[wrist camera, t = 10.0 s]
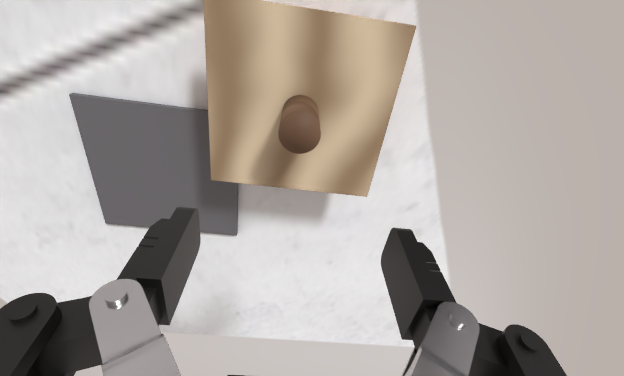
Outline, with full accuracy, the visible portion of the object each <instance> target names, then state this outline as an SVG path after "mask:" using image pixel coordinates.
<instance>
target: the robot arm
mask: <svg viewBox="0 0 624 376" xmlns="http://www.w3.org/2000/svg"><path fill="white" fill-rule="evenodd" d="M199 247H200V225H199V212H198V209H197V208H186V207H177V208H176V209H175V211H174V213H173V214H172V216H171V218H170V219H164V218H161V219H160V220H159V221H157V222H156V223H154V224H153V225H152V226H150V228H149V230H148V231H147V233H146V234H145V236H144V239H142V241H141V242H140V244H139V247H137V248H136V250H135V252H134V253H133V255H132V256H131V258H130V259H129V261H128V263H127V264H126V266H125V267H124V269H123V270H122V272H121V274H120V275H119V277H118V278H117V280H115V281H112V282H109V283H107V284H105V285H103V286H102V287H100V288H99V289H98V290H97V291H96V292H95V293H94V294H93V296H90V297H86V298H81V299H76V300H70V301H65V302H60V303H57V302H56V300H55V298H54V297H53V296H51V295H49V294H46V293H33V294H28V295H25V296H22V297H19V298H17V299H15V300H13V301H11V302H9V303H8V304H6V305H5V306H3V307H2V308H1V309H0V376H74V374H75V372H76V371H78V370H82V369H86V368H90V367H94V366H97V365H101V364H102V372H103V376H181V374H180V372H179V369H178V367H177V364H176V362H175V360H174V357H173V355H172V353H171V350H170V348H169V345H168V343H167V341H166V338H165V337H164V335H163V334H161V332H160V330H159V327H158V326H159V325H170V322H171V320H172V317H173V315H174V312H175V310H176V307H177V305H178V302H179V299H180V297H181V294H182V292H183V289H184V287H185V284H186V282H187V279H188V277H189V274H190V272H191V269H192V266H193V264H194V261H195V259H196V256H197V254H198V251H199ZM381 267H382V271H383V274H384V278H385V281H386V285H387V288H388V292H389V295H390V299H391V302H392V306H393V309H394V313H395V316H396V320H397V323H398V327H399V330H400V334H401V337H402V339H405V340H413V342H414V345H415V347H414V349H413V351H412V353H411V355H410V357H409V360H408V362H407V364H406V367H405V369H404V371H403V373H402V375H401V376H566V374H565V372H564V371H563V369H562V367H561V366H560V364H559V363H558V361H557V360H556V358H555V357H554V355H553V353H552V352H551V350H550V349H549V347H548V345H547V344H546V343H545V342H544V341H543V339H542V338H540V337H539V336H538V335H537V334H536V333H534V332H533V331H532V330H530V329H528V328H526V327H524V326H520V325H510V326H508V327H507V328H506V329H505V330H504V331H503V332H502V331H499V330H496V329H494V328H491V327H488V326H485V325H482V324H480V323H478V322H477V320H476V318H475V317H474V315H473V314H472V313H471V312H470V311H469V310H468V309H466V308H465V307H463V306H462V305H459V304H457V303H456V301H455V299H454V297H453V295H452V293H451V291H450V289H449V287H448V285H447V283H446V281H445V279H444V277H443V275H442V272H440V268H439V266H438V264H436V260H435V258H434V256H433V254H432V252H431V251H430V250H429V249H428V248H427V247H426V246H425V245H424V244H423V243H421V242H417V240H416V238H415V236H414V234H413V232H412V230H410V229H401V228H392V229H391V231H390V234H389V236H388V239H387V242H386V244H385V247H384V250H383V252H382V256H381ZM228 376H243V375H228Z"/></svg>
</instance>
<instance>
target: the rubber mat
mask: <svg viewBox="0 0 624 376" xmlns="http://www.w3.org/2000/svg"><path fill="white" fill-rule="evenodd" d="M69 96H70V99H71V103H72V106H73V110H74V113H75V117H76V120H77V124H78V127H79V131H80V135H81V138H82V142H83V145H84V149H85V152H86V156H87V159H88V163H89V166H90V170H91V173H92V177H93V180H94V184H95V187H96V191H97V194H98V198H99V201H100V205H101V209H102V212H103V216H104V219H105V223H107V224H117V225H128V226H139V227H150V226H152V225H153V224H154V223H156V222H157V221H159V220H160V219H161V218H164V219H170V218H171V216H172V214H173V213H174V211H175V209H176V208H177V207H186V208H197V209H198V212H199V225H200V232H204V233H215V234H226V235H237V223H238V183H234V182H225V181H216V180H211V165H210V141H209V118H208V110H200V109H192V108H184V107H177V106H169V105H161V104H153V103H146V102H138V101H130V100H122V99H114V98H107V97H99V96H91V95H83V94H76V93H72V94H69Z"/></svg>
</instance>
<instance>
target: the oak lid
mask: <svg viewBox="0 0 624 376" xmlns="http://www.w3.org/2000/svg"><path fill="white" fill-rule="evenodd" d="M204 23H205V47H206V70H207V94H208V118H209V141H210V165H211V180H216V181H225V182H234V183H244V184H253V185H262V186H272V187H281V188H290V189H299V190H309V191H318V192H327V193H337V194H346V195H355V196H365V197H367V195H368V192H369V188H370V185H371V181H372V178H373V174H374V171H375V167H376V164H377V161H378V157H379V154H380V150H381V147H382V143H383V140H384V136H385V133H386V129H387V126H388V122H389V119H390V116H391V112H392V109H393V105H394V102H395V98H396V95H397V91H398V88H399V84H400V81H401V78H402V74H403V71H404V67H405V64H406V60H407V57H408V53H409V50H410V46H411V43H412V39H413V36H414V33H415V29H416V26H414V25H409V24H403V23H397V22H391V21H384V20H378V19H372V18H366V17H360V16H354V15H348V14H342V13H335V12H329V11H323V10H317V9H311V8H305V7H299V6H293V5H286V4H280V3H274V2H268V1H262V0H204Z"/></svg>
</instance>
